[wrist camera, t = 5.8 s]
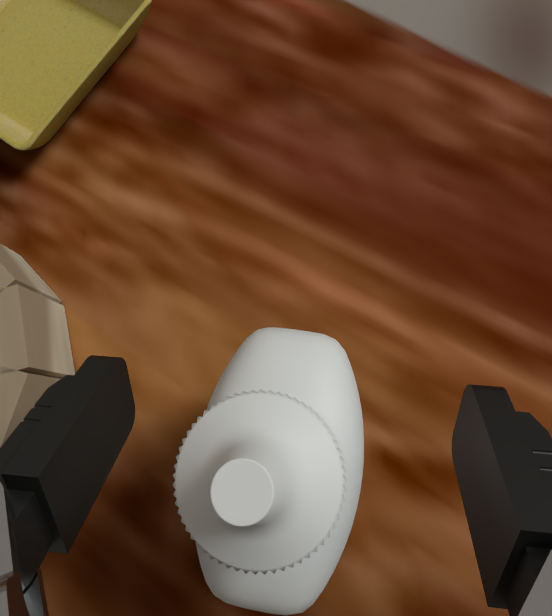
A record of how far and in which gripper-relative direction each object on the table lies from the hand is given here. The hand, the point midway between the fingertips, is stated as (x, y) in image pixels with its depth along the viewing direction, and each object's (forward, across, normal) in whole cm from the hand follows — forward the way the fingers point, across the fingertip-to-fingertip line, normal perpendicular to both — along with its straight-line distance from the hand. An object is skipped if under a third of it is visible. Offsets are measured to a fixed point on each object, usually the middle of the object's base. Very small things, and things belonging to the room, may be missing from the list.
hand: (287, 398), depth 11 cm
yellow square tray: (+15, +13, -6) cm, 21 cm away
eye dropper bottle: (+3, 0, +5) cm, 6 cm away
